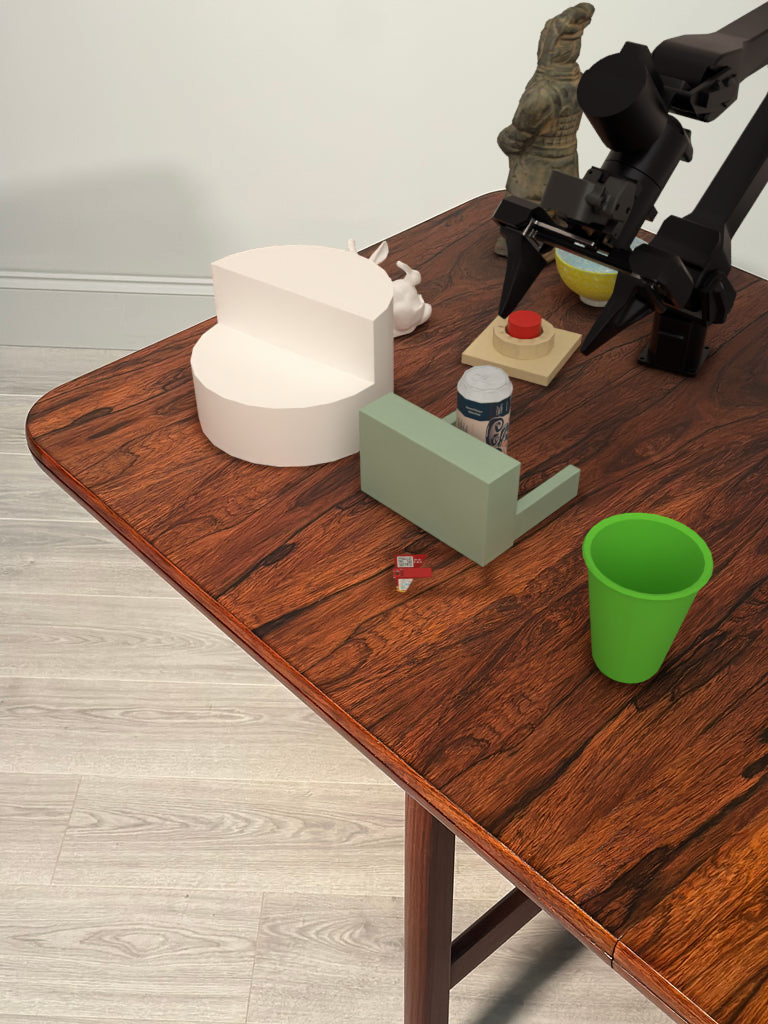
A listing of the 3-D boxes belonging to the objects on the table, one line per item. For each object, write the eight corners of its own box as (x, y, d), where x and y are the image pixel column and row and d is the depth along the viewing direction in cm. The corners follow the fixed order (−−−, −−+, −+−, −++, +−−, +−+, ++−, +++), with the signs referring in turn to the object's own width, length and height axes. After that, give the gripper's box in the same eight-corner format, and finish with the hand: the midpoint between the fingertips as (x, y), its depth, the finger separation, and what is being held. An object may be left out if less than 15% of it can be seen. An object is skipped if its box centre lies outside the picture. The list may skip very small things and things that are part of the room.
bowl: (530, 294, 126) (534, 246, 122) (598, 267, 131) (604, 221, 127) (598, 332, 119) (605, 282, 115) (667, 302, 124) (675, 254, 120)
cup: (692, 632, 82) (719, 526, 75) (678, 718, 76) (706, 610, 69) (578, 606, 85) (595, 501, 78) (555, 687, 78) (571, 580, 71)
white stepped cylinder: (157, 421, 105) (136, 303, 97) (284, 339, 118) (276, 228, 109) (311, 492, 96) (303, 369, 88) (431, 395, 109) (434, 278, 100)
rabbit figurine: (334, 347, 116) (330, 268, 110) (321, 315, 122) (317, 238, 116) (437, 334, 118) (440, 255, 112) (420, 303, 124) (421, 226, 118)
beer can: (501, 506, 95) (510, 395, 87) (449, 500, 95) (453, 389, 88) (507, 474, 98) (516, 365, 91) (457, 469, 99) (462, 360, 91)
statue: (528, 227, 140) (550, -17, 121) (586, 248, 135) (618, -3, 116) (475, 254, 134) (489, 1, 115) (533, 277, 129) (558, 17, 110)
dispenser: (458, 430, 104) (462, 352, 98) (580, 496, 96) (591, 415, 90) (360, 490, 97) (358, 409, 91) (482, 567, 88) (488, 483, 83)
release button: (515, 321, 115) (516, 307, 114) (545, 329, 114) (546, 314, 113) (501, 335, 113) (502, 321, 112) (532, 343, 112) (533, 329, 110)
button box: (499, 322, 120) (500, 299, 119) (580, 343, 117) (583, 320, 115) (461, 363, 114) (462, 338, 112) (546, 386, 110) (549, 362, 108)
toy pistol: (394, 593, 86) (391, 552, 90) (394, 597, 86) (391, 556, 90) (489, 591, 86) (483, 551, 90) (489, 595, 86) (482, 554, 90)
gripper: (512, 103, 90) (421, 263, 91) (700, 160, 80) (595, 339, 81) (559, 168, 99) (476, 312, 100) (734, 226, 89) (639, 386, 90)
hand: (540, 335), depth 92 cm, fingers open, 9 cm apart
